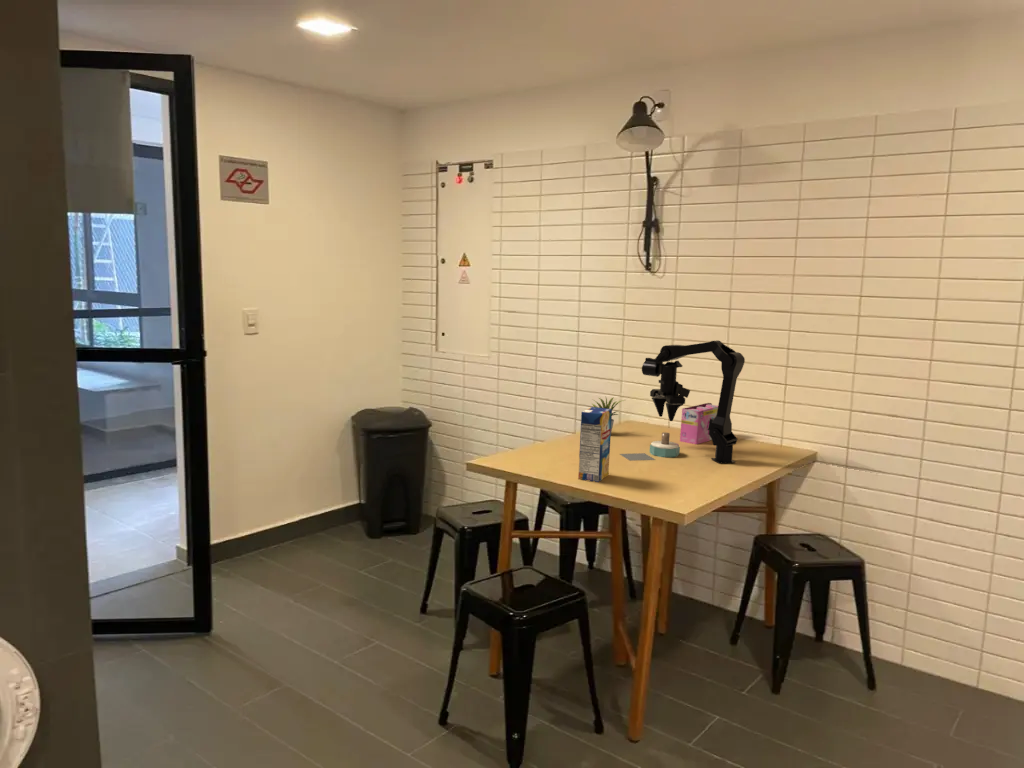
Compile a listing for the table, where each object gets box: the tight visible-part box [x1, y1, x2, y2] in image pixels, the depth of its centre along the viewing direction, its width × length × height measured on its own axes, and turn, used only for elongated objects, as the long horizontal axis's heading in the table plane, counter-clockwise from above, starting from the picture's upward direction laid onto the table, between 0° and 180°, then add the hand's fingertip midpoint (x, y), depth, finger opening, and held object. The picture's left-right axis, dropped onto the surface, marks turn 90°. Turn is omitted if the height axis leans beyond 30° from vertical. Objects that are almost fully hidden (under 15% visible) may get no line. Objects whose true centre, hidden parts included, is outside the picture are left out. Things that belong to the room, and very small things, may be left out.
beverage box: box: [577, 406, 613, 483], centre depth 246 cm, size 7×11×22 cm, turn 156°
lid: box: [650, 431, 680, 449], centre depth 281 cm, size 10×10×5 cm
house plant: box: [591, 396, 626, 433], centre depth 315 cm, size 14×14×16 cm
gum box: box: [679, 402, 718, 445], centre depth 313 cm, size 24×8×14 cm, turn 138°
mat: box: [619, 452, 656, 462], centre depth 276 cm, size 10×10×1 cm
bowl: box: [649, 444, 681, 458], centre depth 281 cm, size 10×10×4 cm
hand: (665, 418), depth 290 cm, fingers open, 9 cm apart
